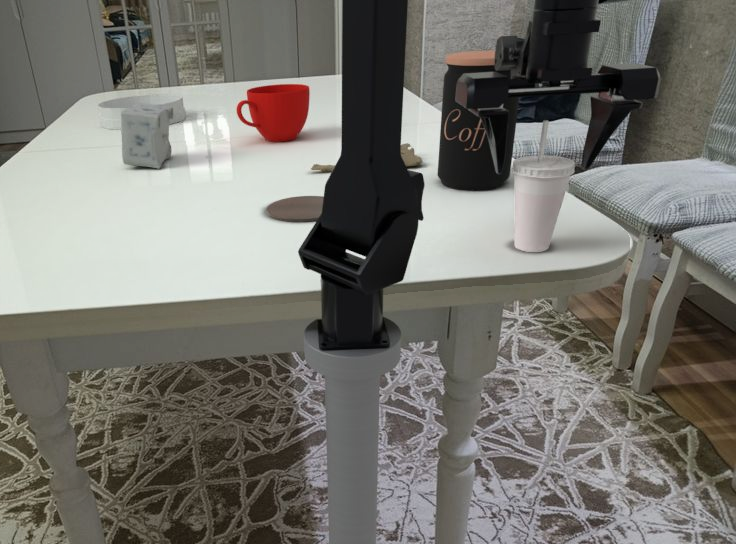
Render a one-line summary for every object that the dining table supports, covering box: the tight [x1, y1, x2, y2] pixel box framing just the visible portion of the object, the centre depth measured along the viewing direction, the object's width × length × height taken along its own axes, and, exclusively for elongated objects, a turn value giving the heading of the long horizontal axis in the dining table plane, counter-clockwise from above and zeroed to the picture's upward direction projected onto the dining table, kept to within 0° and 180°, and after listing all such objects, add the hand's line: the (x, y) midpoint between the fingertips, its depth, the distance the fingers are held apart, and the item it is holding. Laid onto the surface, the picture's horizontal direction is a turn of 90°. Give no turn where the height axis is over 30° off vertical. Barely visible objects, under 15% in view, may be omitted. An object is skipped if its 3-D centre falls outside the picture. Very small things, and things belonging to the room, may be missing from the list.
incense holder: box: [120, 103, 173, 170], centre depth 120 cm, size 10×8×10 cm
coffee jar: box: [437, 49, 520, 191], centre depth 94 cm, size 11×11×18 cm
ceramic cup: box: [236, 83, 311, 143], centre depth 132 cm, size 13×17×10 cm
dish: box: [97, 93, 187, 131], centre depth 165 cm, size 22×22×5 cm
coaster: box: [266, 195, 324, 223], centre depth 91 cm, size 11×11×1 cm
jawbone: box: [310, 143, 423, 173], centre depth 109 cm, size 9×20×2 cm, turn 115°
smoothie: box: [511, 119, 576, 253], centre depth 70 cm, size 6×6×14 cm
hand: (541, 170), depth 69 cm, fingers open, 9 cm apart
